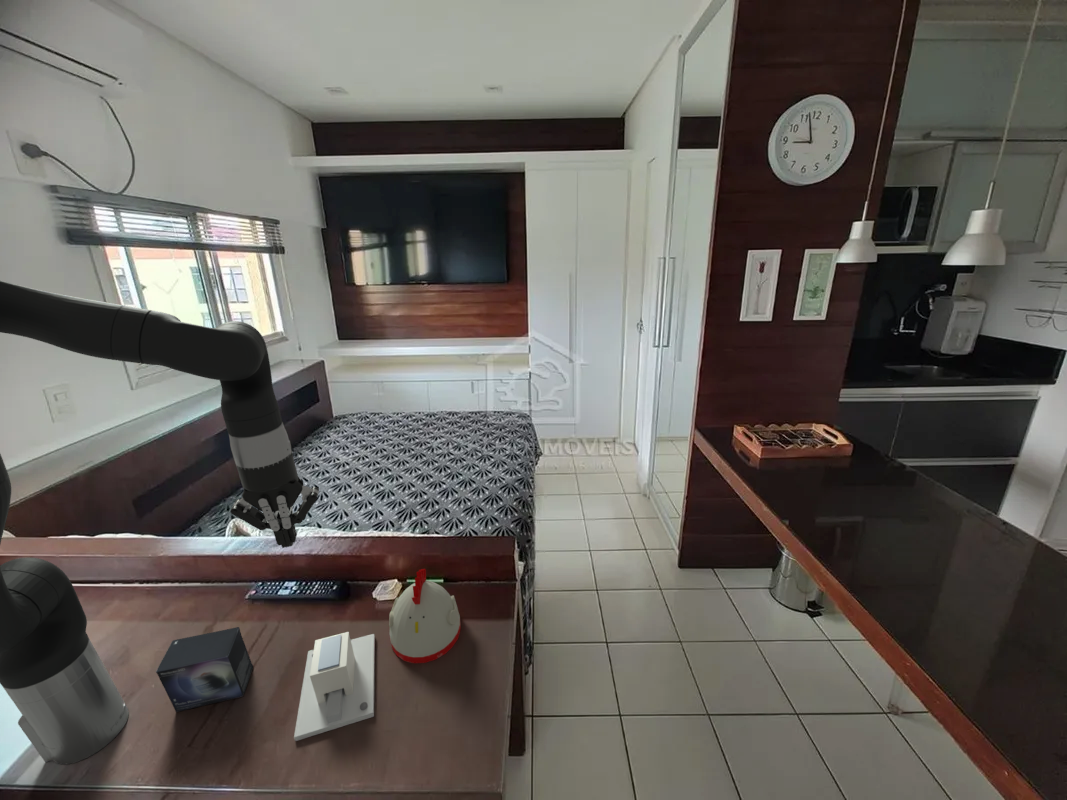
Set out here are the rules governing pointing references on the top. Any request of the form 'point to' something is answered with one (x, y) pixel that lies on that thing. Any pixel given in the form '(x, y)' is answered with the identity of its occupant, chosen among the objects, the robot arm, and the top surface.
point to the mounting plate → (351, 702)
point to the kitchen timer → (423, 621)
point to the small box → (205, 669)
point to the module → (332, 666)
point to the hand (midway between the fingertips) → (288, 543)
